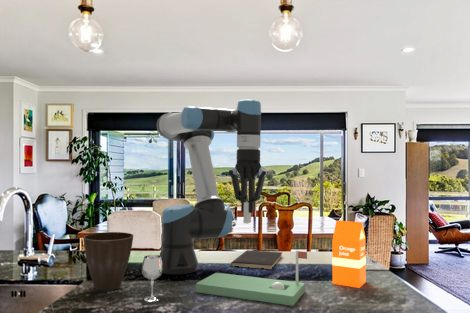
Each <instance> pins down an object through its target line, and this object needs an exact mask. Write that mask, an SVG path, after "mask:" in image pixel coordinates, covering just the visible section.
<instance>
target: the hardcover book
mask: <svg viewBox="0 0 470 313" xmlns="http://www.w3.org/2000/svg"><path fill="white" fill-rule="evenodd" d="M282 255H283V252H282V251H281V252H280V251H266V250H265V251H264V250H254V249H253V250H251V249H250V250H249V249H248V250H247V249H246V250H245V251H243V253H241V254H240V255H239V256H237V257H236V258H235V259H234V260H232V261H231V262H230V267H235V266H239V268H248V267H249V268H250V269H261V268H264V270H272V269H273V268H274V267H275V265H276V264H277V263H278V261H280V259H281V258H282ZM272 267H273V268H272Z"/></svg>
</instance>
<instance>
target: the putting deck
mask: <svg viewBox="0 0 470 313" xmlns="http://www.w3.org/2000/svg"><path fill="white" fill-rule="evenodd" d="M299 259H303V260H304V259H306V260H307V259H308V252H307V251H299V250H298V249H297V250H295V281H290V280H284V279H283V280H282V279H274V278H272V279H271V278H264V277H255V276H249V275H248V276H247V275H237V274H230V273H222V272H215V273H213V274H211V275H208V276H207V277H205V278H203V279H202V280H200V281H198V282H196V283H195V293H201V294H207V295H215V296H220V297H227V298H228V297H229V298H236V299H242V300H243V299H244V300H248V301H249V300H250V301H257V302H264V303H270V304H271V303H272V304H279V305H286V306H294V305H296V303H297V302H298V301H299V300H300V298H301V297H302V296H303V294H304V293H305V292H306V282H300V281H299ZM275 282H281V283H282V284H283V285H284V288H285V290H279V289H271V286H272V284H273V283H275Z"/></svg>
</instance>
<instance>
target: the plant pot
mask: <svg viewBox="0 0 470 313" xmlns="http://www.w3.org/2000/svg"><path fill="white" fill-rule="evenodd" d="M82 241H83V245H84V254H85V259H86V264H87V267H88V272H89V275H90V278H91V280H92V284H93V287H94V288H95V290H97V291H100V292H101V291H102V292H103V291H104V292H106V291H107V292H108V291H115V290H117V289H119V288H120V287H121V285H122V283H123V279H124V277H125V275H126V272H127V271H126V270H127V267H128V264H129V261H130V257H131V252H132V247H133V241H134V234H133V233H130V232H122V231H121V232H119V231H117V232H116V231H107V232H96V233H89V234H86V235H84V236H83V240H82Z"/></svg>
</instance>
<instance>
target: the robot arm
mask: <svg viewBox="0 0 470 313" xmlns="http://www.w3.org/2000/svg"><path fill="white" fill-rule="evenodd" d="M261 106H262V104H261V102H260V101H259V100H256V99H240V100H239V101H238V102H237V106H236V109H234V108H233V109H232V108H231V109H230V108H219V107H202V106H197V105H192V106H189V105H188V106H187V105H186V106H185V107H184V108H182V111H180V112H174V113H173V112H167V113H164V114H162V115H161V116H160V117H159V118H158V119H157V122H156V130H157V132H158V133H159V135H160V136H161V137H162V138H164V139H166V140H168V141H173V142H183V146H184V149H186V150H187V151H188V155H189V162H190V167H191V173H192V179H193V184H194V191H195V195H196V202H195V204H192V203H187V204H186V203H185V204H175V205H172V206H168V207H165V208H164V209H163V210H162V212H161V250H160V252H159V254H158V255H159V256H161V259H162V265H163V270H162V274H165V275H186V274H192V273H195V272H197V271H199V262H198V258H197V254H196V251H195V247H194V241H195V240H202V239H203V240H204V239H219V238H223V237H224V238H225V237H226V236H228V235H229V234H230V233H231V230H232V228H233V211H232V209H231V207H230V206H227V205H225V202H224V199H223V198H221V197H219V192H218V186H217V181H216V177H215V171H214V166H213V161H212V157H211V151H210V145H211V144H212V141H213V140H214V137H215V132H225V133H226V132H227V133H236V135H237V136H236V148H238V149H237V150H236V162H235V167H234V168H232V169H228V174H229V176H230V177H231V178H230V179H231V181H232V188H233V192H234V197H235V200H237V201H239V202H240V212H241V213H243V221H242V222H243V224H249V223H250V224H251V223H252V213H254V211H255V202H258V201H260V199H261V195H262V191H263V187H264V184H265V179H266V177H268V174H269V171H268V170H265V169H263V168H262V165H261V150H260V148H261V132H262V130H261V129H262V128H261V127H262V126H261V125H262V109H261V108H262V107H261ZM238 175H239V176H240V179H239V176H238ZM257 175H259V176H258V179H257V184H256V176H257Z"/></svg>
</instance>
